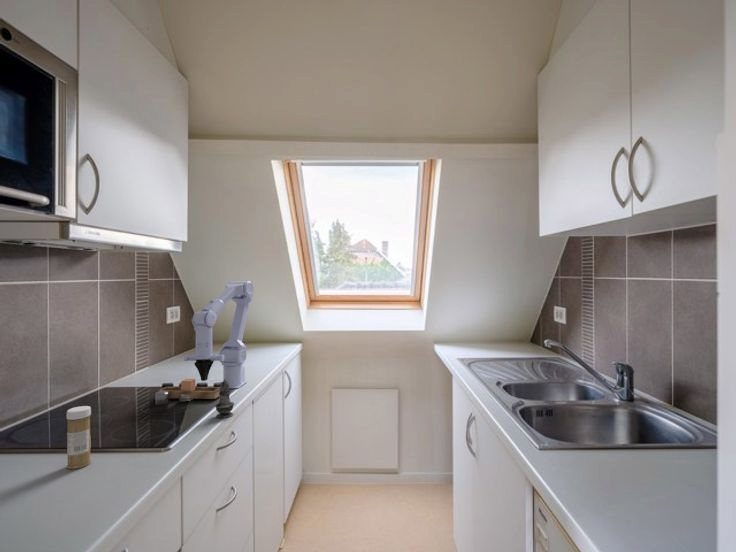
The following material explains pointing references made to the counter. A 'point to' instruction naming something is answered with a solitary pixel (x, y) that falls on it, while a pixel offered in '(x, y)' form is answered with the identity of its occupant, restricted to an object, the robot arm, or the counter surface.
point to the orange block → (188, 385)
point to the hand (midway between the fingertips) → (204, 380)
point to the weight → (161, 398)
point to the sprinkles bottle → (78, 437)
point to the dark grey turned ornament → (224, 401)
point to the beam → (192, 393)
